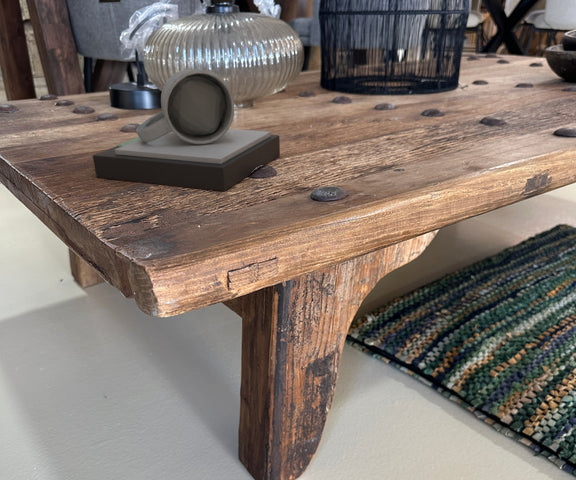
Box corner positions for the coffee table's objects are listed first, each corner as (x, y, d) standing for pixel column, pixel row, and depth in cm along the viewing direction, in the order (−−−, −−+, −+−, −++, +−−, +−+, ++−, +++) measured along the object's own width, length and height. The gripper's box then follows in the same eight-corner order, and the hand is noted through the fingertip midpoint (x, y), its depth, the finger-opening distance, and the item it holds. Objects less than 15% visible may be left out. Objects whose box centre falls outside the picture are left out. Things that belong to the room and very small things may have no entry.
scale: (96, 177, 63) (91, 149, 62) (168, 146, 76) (165, 122, 74) (224, 191, 58) (222, 161, 57) (280, 155, 70) (279, 130, 69)
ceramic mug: (222, 127, 71) (216, 61, 67) (237, 141, 64) (232, 68, 60) (135, 136, 68) (124, 67, 64) (141, 151, 61) (129, 76, 57)
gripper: (-7, -266, 50) (43, 3, 60) (251, -317, 42) (259, 3, 52) (53, -239, 56) (89, 1, 66) (287, -279, 48) (289, 1, 58)
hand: (164, 3), depth 59 cm, fingers open, 13 cm apart
